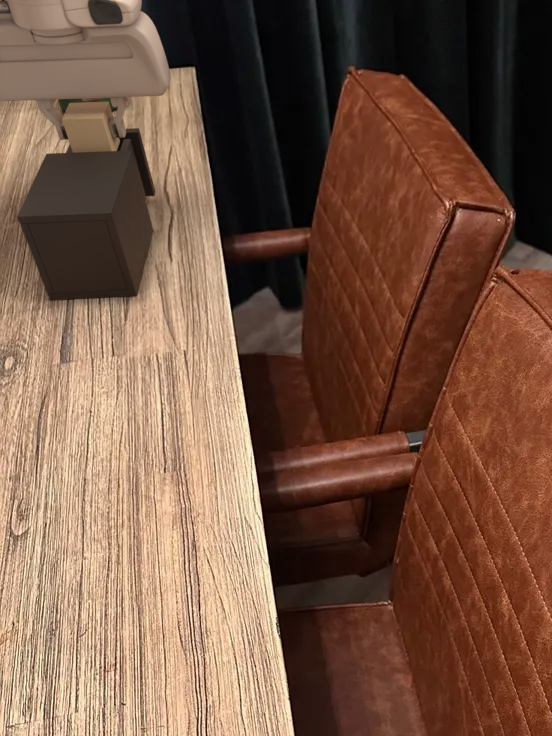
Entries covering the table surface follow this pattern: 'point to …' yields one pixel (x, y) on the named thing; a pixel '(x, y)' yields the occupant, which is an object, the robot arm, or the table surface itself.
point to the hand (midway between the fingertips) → (94, 136)
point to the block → (89, 127)
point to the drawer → (136, 158)
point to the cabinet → (88, 225)
